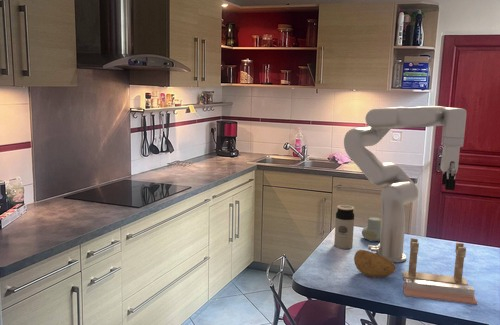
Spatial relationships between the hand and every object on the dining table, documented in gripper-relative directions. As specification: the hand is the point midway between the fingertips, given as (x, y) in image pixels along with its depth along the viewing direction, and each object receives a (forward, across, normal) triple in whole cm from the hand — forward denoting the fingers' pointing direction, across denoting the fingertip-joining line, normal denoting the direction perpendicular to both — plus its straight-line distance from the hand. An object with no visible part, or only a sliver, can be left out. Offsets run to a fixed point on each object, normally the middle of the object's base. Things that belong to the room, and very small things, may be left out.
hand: (447, 187), depth 179 cm
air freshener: (+35, -34, -25) cm, 54 cm away
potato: (+34, +11, -25) cm, 44 cm away
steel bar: (+34, +20, -2) cm, 39 cm away
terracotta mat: (+34, +20, -2) cm, 40 cm away
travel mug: (+35, -20, -38) cm, 55 cm away
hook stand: (+34, +8, -3) cm, 35 cm away
